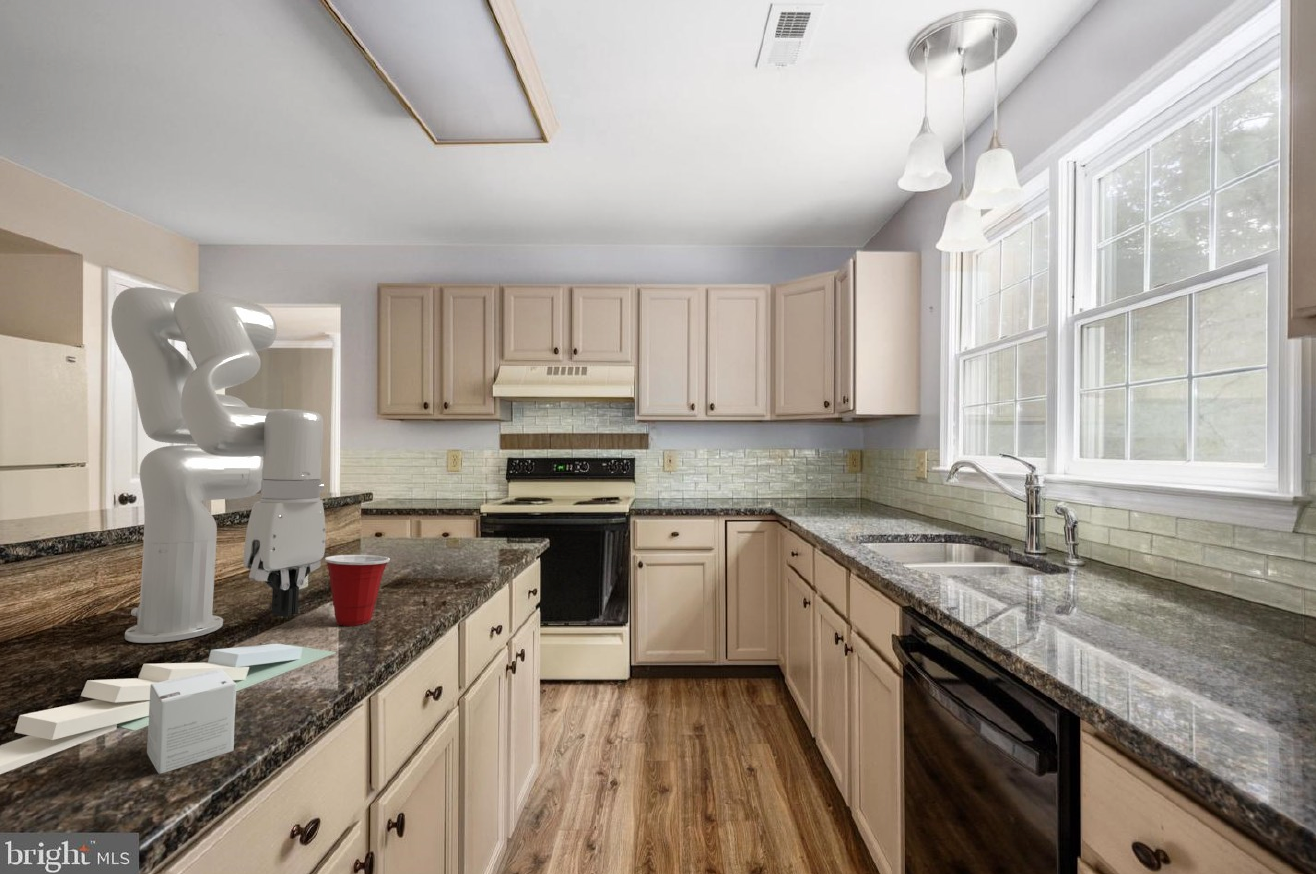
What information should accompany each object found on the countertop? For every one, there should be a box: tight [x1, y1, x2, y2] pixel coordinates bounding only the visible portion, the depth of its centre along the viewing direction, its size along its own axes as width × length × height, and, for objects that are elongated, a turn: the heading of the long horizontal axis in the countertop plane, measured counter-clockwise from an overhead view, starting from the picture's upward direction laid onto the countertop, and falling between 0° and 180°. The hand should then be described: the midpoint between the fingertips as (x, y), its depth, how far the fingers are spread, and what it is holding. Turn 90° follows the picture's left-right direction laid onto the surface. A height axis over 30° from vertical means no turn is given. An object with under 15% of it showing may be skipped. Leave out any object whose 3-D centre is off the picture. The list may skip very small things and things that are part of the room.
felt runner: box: [117, 644, 337, 732], centre depth 76 cm, size 10×26×1 cm, turn 163°
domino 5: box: [207, 643, 303, 667], centre depth 80 cm, size 5×2×10 cm
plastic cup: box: [324, 554, 391, 627], centre depth 104 cm, size 11×11×12 cm
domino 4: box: [138, 661, 249, 682], centre depth 72 cm, size 5×2×10 cm
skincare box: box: [146, 669, 237, 775], centre depth 58 cm, size 6×6×7 cm
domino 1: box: [14, 699, 150, 740], centre depth 61 cm, size 5×2×10 cm
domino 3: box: [80, 677, 158, 703], centre depth 67 cm, size 5×2×10 cm
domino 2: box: [0, 724, 117, 775], centre depth 58 cm, size 5×2×10 cm
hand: (284, 614), depth 84 cm, fingers closed
